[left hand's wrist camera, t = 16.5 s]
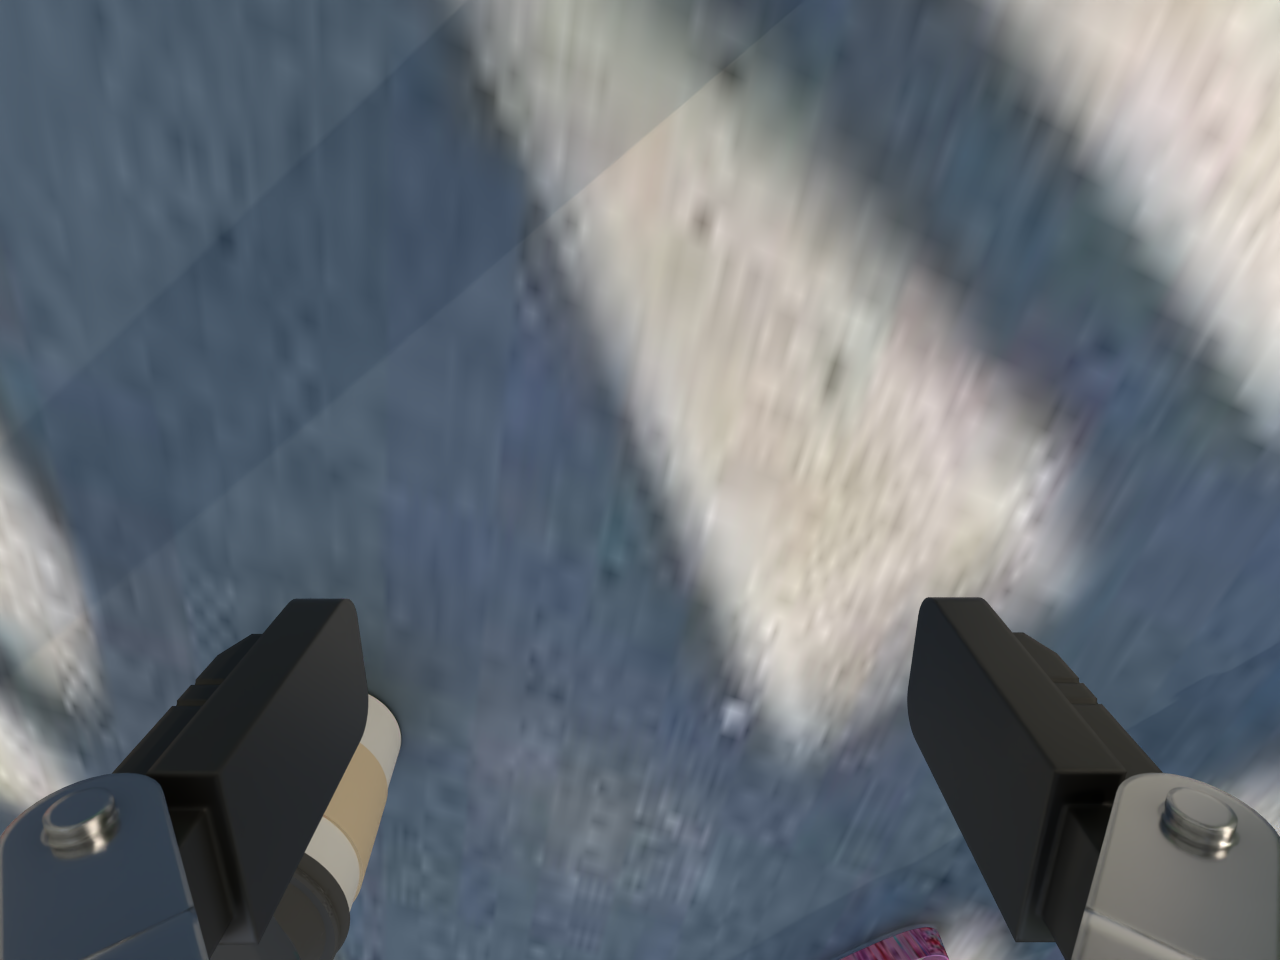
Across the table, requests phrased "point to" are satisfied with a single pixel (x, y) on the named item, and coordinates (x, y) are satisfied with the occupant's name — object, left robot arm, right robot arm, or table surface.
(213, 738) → the left robot arm
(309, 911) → the coffee cup
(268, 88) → the table surface
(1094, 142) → the table surface
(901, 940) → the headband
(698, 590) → the table surface
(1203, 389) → the table surface
